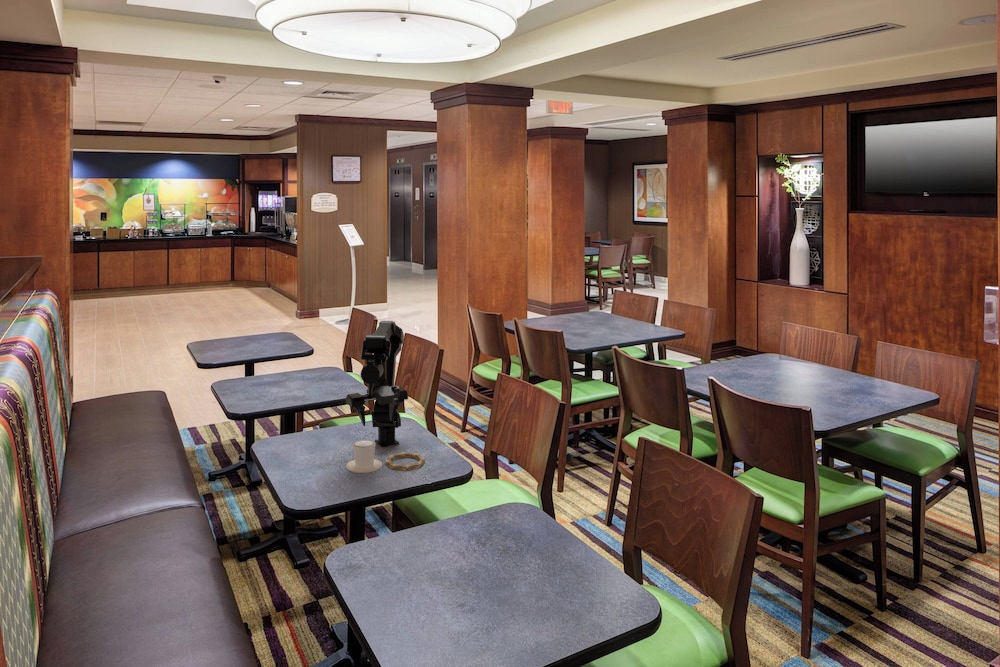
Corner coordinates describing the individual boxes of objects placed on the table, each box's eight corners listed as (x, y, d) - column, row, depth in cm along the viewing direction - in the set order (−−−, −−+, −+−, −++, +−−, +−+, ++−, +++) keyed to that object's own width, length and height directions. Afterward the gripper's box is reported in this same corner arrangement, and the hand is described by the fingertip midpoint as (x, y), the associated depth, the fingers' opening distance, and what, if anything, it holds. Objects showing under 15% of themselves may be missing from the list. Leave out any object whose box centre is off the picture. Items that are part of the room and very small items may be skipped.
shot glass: (356, 460, 226) (356, 438, 224) (378, 461, 225) (377, 439, 224) (350, 468, 219) (349, 446, 217) (372, 469, 218) (372, 447, 217)
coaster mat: (340, 463, 224) (340, 462, 224) (374, 456, 229) (374, 455, 229) (353, 475, 215) (353, 474, 214) (388, 468, 220) (387, 467, 220)
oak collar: (381, 460, 227) (381, 456, 226) (413, 453, 233) (413, 450, 232) (396, 472, 217) (395, 469, 217) (429, 465, 223) (429, 461, 223)
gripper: (358, 385, 210) (359, 435, 214) (415, 377, 220) (416, 425, 223) (344, 376, 220) (345, 425, 223) (400, 369, 229) (401, 415, 233)
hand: (377, 423), depth 225 cm, fingers open, 9 cm apart
